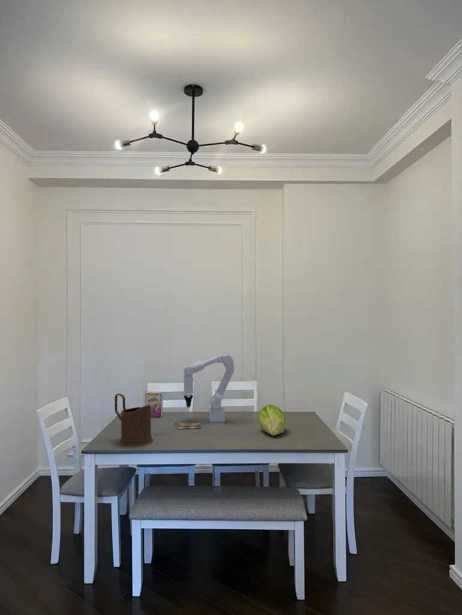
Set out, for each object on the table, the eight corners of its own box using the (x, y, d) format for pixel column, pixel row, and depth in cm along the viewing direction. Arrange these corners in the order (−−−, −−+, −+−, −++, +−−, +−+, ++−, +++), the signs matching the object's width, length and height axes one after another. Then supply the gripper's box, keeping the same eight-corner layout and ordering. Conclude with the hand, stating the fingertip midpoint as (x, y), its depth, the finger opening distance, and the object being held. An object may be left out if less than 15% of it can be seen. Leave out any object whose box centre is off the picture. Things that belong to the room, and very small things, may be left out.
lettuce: (288, 444, 269) (259, 446, 270) (285, 421, 293) (259, 423, 294) (286, 420, 264) (257, 422, 266) (283, 398, 288) (256, 401, 289)
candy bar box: (144, 417, 322) (144, 392, 322) (146, 415, 327) (146, 391, 327) (161, 417, 321) (161, 393, 321) (162, 416, 326) (162, 391, 326)
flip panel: (200, 422, 297) (200, 425, 285) (200, 425, 297) (200, 427, 285) (177, 423, 296) (176, 426, 284) (177, 425, 296) (176, 428, 284)
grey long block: (202, 425, 298) (202, 421, 298) (202, 426, 296) (202, 421, 296) (174, 426, 297) (174, 422, 297) (174, 427, 295) (174, 422, 295)
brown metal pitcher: (138, 448, 250) (138, 399, 250) (103, 442, 261) (103, 396, 262) (160, 439, 266) (160, 394, 266) (126, 434, 278) (126, 391, 278)
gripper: (181, 383, 311) (182, 404, 310) (182, 387, 296) (182, 409, 296) (192, 383, 311) (193, 404, 311) (193, 387, 297) (193, 409, 297)
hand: (188, 406), depth 304 cm, fingers closed
